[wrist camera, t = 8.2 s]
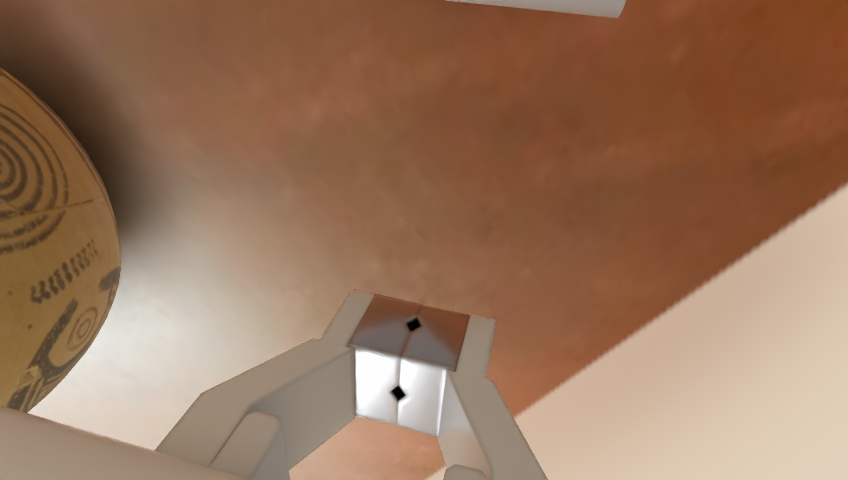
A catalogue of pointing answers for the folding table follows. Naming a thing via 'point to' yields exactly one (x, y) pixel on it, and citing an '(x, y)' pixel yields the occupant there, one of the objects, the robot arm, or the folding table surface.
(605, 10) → the fryer drawer
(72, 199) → the ceramic bowl
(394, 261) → the folding table surface
